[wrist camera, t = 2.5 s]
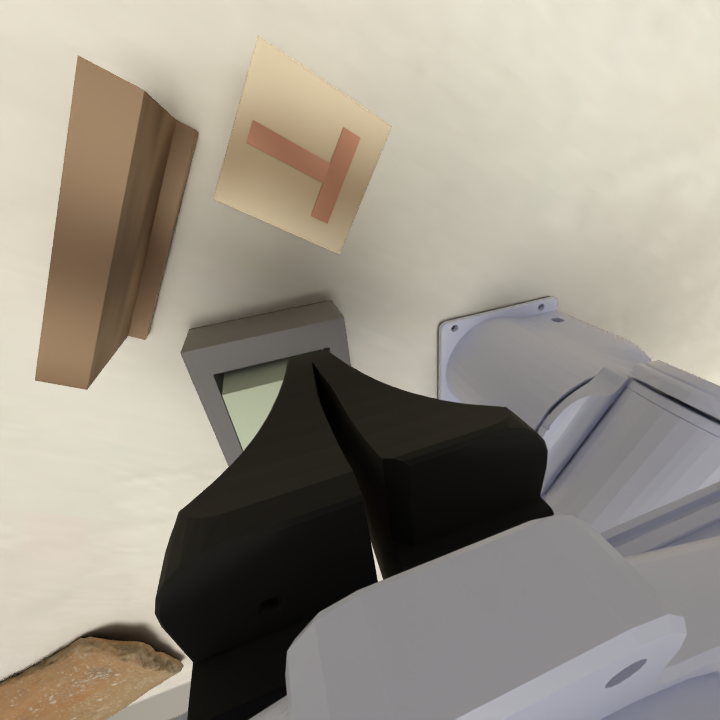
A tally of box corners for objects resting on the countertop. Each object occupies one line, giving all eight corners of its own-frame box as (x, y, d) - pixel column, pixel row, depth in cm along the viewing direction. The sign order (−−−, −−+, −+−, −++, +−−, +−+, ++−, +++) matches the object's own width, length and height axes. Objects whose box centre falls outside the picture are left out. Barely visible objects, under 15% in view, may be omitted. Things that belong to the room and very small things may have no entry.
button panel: (331, 300, 20) (343, 317, 17) (361, 491, 28) (373, 522, 26) (189, 329, 18) (180, 353, 16) (265, 523, 27) (268, 559, 24)
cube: (253, 78, 15) (258, 34, 10) (354, 140, 17) (393, 125, 12) (221, 195, 16) (213, 199, 12) (317, 238, 18) (340, 255, 14)
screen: (117, 91, 13) (40, 35, 8) (198, 132, 15) (174, 106, 10) (79, 316, 16) (6, 375, 11) (149, 333, 18) (110, 394, 13)
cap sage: (319, 347, 19) (329, 368, 17) (333, 419, 21) (343, 445, 19) (224, 370, 18) (222, 395, 16) (251, 442, 20) (251, 472, 18)
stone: (-63, 706, 26) (-100, 768, 23) (125, 608, 27) (111, 657, 24) (55, 732, 32) (37, 784, 29) (206, 651, 33) (203, 694, 30)
